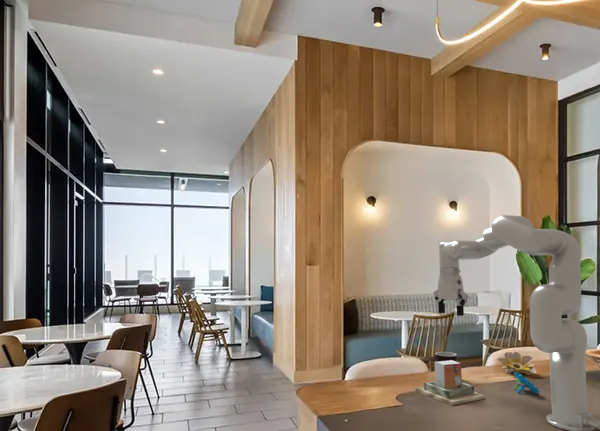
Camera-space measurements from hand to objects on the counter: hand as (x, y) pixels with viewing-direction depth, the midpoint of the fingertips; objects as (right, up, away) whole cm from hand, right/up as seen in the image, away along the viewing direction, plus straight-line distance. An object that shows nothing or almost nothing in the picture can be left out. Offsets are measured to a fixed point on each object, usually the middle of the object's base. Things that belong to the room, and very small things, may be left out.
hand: (450, 314), depth 176 cm
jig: (-6, -26, -15) cm, 31 cm away
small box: (-6, -25, -15) cm, 30 cm away
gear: (+24, -27, -13) cm, 38 cm away
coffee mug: (+1, -29, +8) cm, 30 cm away
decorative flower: (+34, -30, +14) cm, 47 cm away
